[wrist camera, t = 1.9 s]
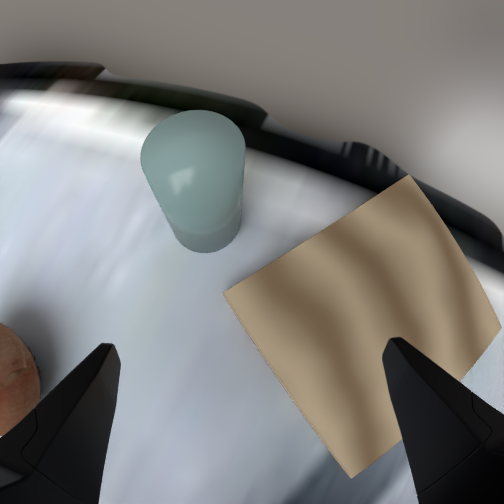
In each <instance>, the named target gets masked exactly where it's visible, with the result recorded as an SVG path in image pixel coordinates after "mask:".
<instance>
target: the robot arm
mask: <svg viewBox="0 0 504 504" xmlns="http://www.w3.org/2000/svg"><path fill="white" fill-rule="evenodd" d="M382 362H383V367H384V371H385V376H386V381H387V386H388V391H389V395H390V399H391V402H392V406H393V409H394V412H395V415H396V419H397V422H398V425H399V429H400V432H401V436H402V439H403V442H404V446H405V450H406V453H407V457H408V461H409V464H410V468H411V472H412V476H413V480H414V484H415V488H416V493H417V498H418V502H419V504H504V414H502V413H501V412H499V411H498V410H496V409H495V408H493V407H492V406H490V405H489V404H488V403H486V402H485V401H484V400H482V399H481V398H480V397H478V396H477V395H476V394H475V393H473V392H471V390H469V389H468V388H467V387H466V386H464V385H463V384H462V383H460V382H459V381H458V380H457V379H455V378H454V377H453V376H451V375H450V374H449V373H448V372H446V371H445V370H444V369H442V368H441V367H440V366H439V365H437V364H436V363H435V362H433V361H432V360H431V359H430V358H428V357H427V356H426V355H424V354H423V353H422V352H420V351H419V350H418V349H416V348H415V347H414V346H413V345H411V344H410V343H409V342H407V341H406V340H405V339H403V338H402V337H392V338H390V339H389V340H388V342H387V344H386V347H385V349H384V351H383V354H382ZM120 368H121V362H120V358H119V356H118V353H117V350H116V348H115V346H114V344H112V343H101V344H100V345H99V346H98V347H97V348H95V349H94V350H93V351H92V352H91V353H90V354H89V355H88V356H87V357H86V358H85V359H84V360H83V361H82V362H81V363H80V364H79V365H78V366H76V367H75V368H74V369H73V370H72V371H71V372H70V373H69V374H68V375H67V376H66V377H65V378H64V379H63V380H62V381H61V382H60V383H59V384H58V385H57V386H56V387H55V388H54V389H53V390H52V391H51V392H50V393H48V394H47V395H46V396H45V397H44V398H43V399H42V400H41V401H40V402H39V403H38V404H37V405H36V406H35V408H33V409H32V410H31V411H30V412H29V413H28V414H27V415H26V416H25V417H24V418H23V419H22V420H21V421H20V422H19V423H18V424H16V425H15V426H14V427H13V428H12V429H11V430H9V431H8V432H7V433H6V434H5V435H3V436H2V437H1V438H0V504H98V503H99V496H100V489H101V483H102V476H103V470H104V464H105V459H106V453H107V448H108V443H109V438H110V433H111V428H112V423H113V418H114V414H115V409H116V402H117V393H118V384H119V376H120Z"/></svg>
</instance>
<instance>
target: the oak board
mask: <svg viewBox="0 0 504 504" xmlns="http://www.w3.org/2000/svg"><path fill="white" fill-rule="evenodd" d="M223 296H224V297H225V299H226V301H227V302H228V304H229V305H230V307H231V308H232V310H233V312H234V313H235V315H236V316H237V318H238V319H239V321H240V322H241V324H242V326H243V327H244V329H245V330H246V332H247V333H248V335H249V336H250V338H251V339H252V341H253V342H254V344H255V345H256V347H257V348H258V350H259V351H260V353H261V354H262V356H263V357H264V359H265V360H266V362H267V363H268V365H269V366H270V368H271V369H272V371H273V372H274V374H275V375H276V377H277V378H278V380H279V381H280V382H281V384H282V385H283V387H284V388H285V390H286V391H287V393H288V394H289V396H290V397H291V398H292V400H293V401H294V403H295V404H296V406H297V407H298V408H299V410H300V411H301V413H302V414H303V415H304V417H305V418H306V420H307V421H308V422H309V424H310V425H311V427H312V428H313V429H314V431H315V432H316V434H317V435H318V436H319V438H320V439H321V440H322V442H323V443H324V445H325V446H326V447H327V449H328V450H329V451H330V453H331V454H332V455H333V457H334V458H335V459H336V461H337V462H338V463H339V465H340V466H341V467H342V469H343V470H344V471H345V473H346V474H347V475H348V476H349V477H350V478H351V479H352V478H353V477H354V476H356V475H357V474H359V473H360V472H361V471H363V470H364V469H365V468H367V467H368V466H369V465H371V464H372V463H373V462H375V461H376V460H377V459H378V458H380V457H381V456H382V455H383V454H385V453H386V452H387V451H388V450H390V449H391V448H392V447H393V446H394V445H395V444H397V443H398V442H399V441H400V440H401V439H402V436H401V432H400V429H399V425H398V422H397V419H396V415H395V412H394V409H393V406H392V402H391V399H390V395H389V391H388V386H387V381H386V376H385V371H384V367H383V362H382V354H383V351H384V349H385V347H386V344H387V342H388V340H389V339H390V338H392V337H402V338H403V339H405V340H406V341H407V342H409V343H410V344H411V345H413V346H414V347H415V348H416V349H418V350H419V351H420V352H422V353H423V354H424V355H426V356H427V357H428V358H430V359H431V360H432V361H433V362H435V363H436V364H437V365H439V366H440V367H441V368H442V369H444V370H445V371H446V372H448V373H449V374H450V375H451V376H453V377H454V378H455V379H457V380H458V381H459V382H460V380H461V379H462V378H463V377H464V376H465V375H466V373H467V372H468V371H469V370H470V369H471V367H472V366H473V365H474V364H475V363H476V361H477V360H478V359H479V358H480V356H481V355H482V354H483V352H484V351H485V350H486V349H487V347H488V346H489V345H490V343H491V342H492V341H493V339H494V338H495V336H496V335H497V334H498V332H499V331H500V329H501V328H502V327H501V325H500V323H499V320H498V318H497V316H496V314H495V312H494V310H493V308H492V306H491V304H490V302H489V300H488V298H487V296H486V294H485V292H484V290H483V288H482V286H481V284H480V282H479V280H478V279H477V277H476V275H475V273H474V271H473V270H472V268H471V266H470V264H469V263H468V261H467V259H466V257H465V256H464V254H463V252H462V251H461V249H460V247H459V246H458V244H457V242H456V241H455V239H454V238H453V236H452V235H451V233H450V231H449V230H448V228H447V227H446V225H445V224H444V222H443V221H442V219H441V218H440V216H439V215H438V213H437V212H436V210H435V209H434V207H433V206H432V205H431V203H430V202H429V200H428V199H427V198H426V196H425V195H424V193H423V192H422V191H421V189H420V188H419V187H418V185H417V184H416V183H415V181H414V180H413V179H412V177H411V176H410V175H407V176H406V177H404V178H402V179H401V180H399V181H398V182H396V183H395V184H393V185H392V186H390V187H389V188H387V189H386V190H384V191H383V192H381V193H380V194H378V195H377V196H375V197H373V198H372V199H370V200H369V201H367V202H366V203H364V204H363V205H361V206H360V207H358V208H356V209H355V210H353V211H352V212H350V213H349V214H347V215H346V216H344V217H343V218H341V219H339V220H338V221H336V222H335V223H333V224H332V225H330V226H328V227H327V228H325V229H324V230H322V231H321V232H319V233H317V234H316V235H314V236H313V237H311V238H310V239H308V240H306V241H305V242H303V243H302V244H300V245H299V246H297V247H295V248H294V249H292V250H291V251H289V252H287V253H286V254H284V255H283V256H281V257H279V258H278V259H276V260H275V261H273V262H271V263H270V264H268V265H267V266H265V267H263V268H262V269H260V270H259V271H257V272H255V273H254V274H252V275H251V276H249V277H247V278H246V279H244V280H243V281H241V282H239V283H238V284H236V285H234V286H233V287H231V288H230V289H228V290H226V291H225V292H223Z"/></svg>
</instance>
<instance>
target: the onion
mask: <svg viewBox="0 0 504 504" xmlns="http://www.w3.org/2000/svg"><path fill="white" fill-rule="evenodd" d="M39 373H40V370H39V368H38V367H37V365H36V363H35V356H34V358H33V356H32V353H31V351H30V349H29V350H28V349H27V347H26V346H25V344H24V343H23V342H22V340H21V339H20V338H19V337H18V336H17V335H16V334H15V333H14V332H13V331H12V330H11V329H9V328H8V327H6V326H5V325H3V324H2V323H0V436H3V435H5V434H6V433H7V432H8V431H9V430H11V429H12V428H13V427H14V426H15V425H16V424H18V423H19V422H20V421H21V420H22V419H23V418H24V417H25V416H26V415H27V414H28V413H29V412H30V411H31V410H32V409H33V408H35V406H36V405H37V404H38V403H39V399H40V390H41V389H40V374H39Z"/></svg>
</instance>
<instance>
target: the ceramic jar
mask: <svg viewBox="0 0 504 504" xmlns="http://www.w3.org/2000/svg"><path fill="white" fill-rule="evenodd" d="M140 159H141V166H142V170H143V172H144V174H145V176H146V178H147V180H148V183H149V185H150V187H151V189H152V191H153V193H154V195H155V197H156V199H157V201H158V203H159V205H160V207H161V209H162V211H163V213H164V215H165V217H166V219H167V221H168V223H169V225H170V227H171V229H172V231H173V233H174V235H175V237H176V238H177V240H178V241H179V242H180V243H181V244H182V245H183V246H184V247H186V248H187V249H189V250H192V251H195V252H199V253H211V252H215V251H218V250H220V249H222V248H224V247H226V246H227V245H228V244H229V243H231V241H232V240H233V239H234V238H235V236H236V235H237V232H238V230H239V227H240V219H241V204H242V190H243V176H244V163H245V141H244V138H243V135H242V133H241V131H240V130H239V128H238V127H237V126H236V125H235V124H234V123H233V122H232V121H231V120H229V119H228V118H226V117H225V116H222V115H220V114H218V113H215V112H210V111H204V110H192V111H185V112H181V113H178V114H175V115H173V116H170V117H168V118H167V119H165V120H163V121H162V122H160V123H159V124H158V125H157V126H155V127H154V128H153V130H152V131H151V132H150V133H149V134H148V136H147V137H146V139H145V141H144V143H143V146H142V150H141V157H140Z"/></svg>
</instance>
